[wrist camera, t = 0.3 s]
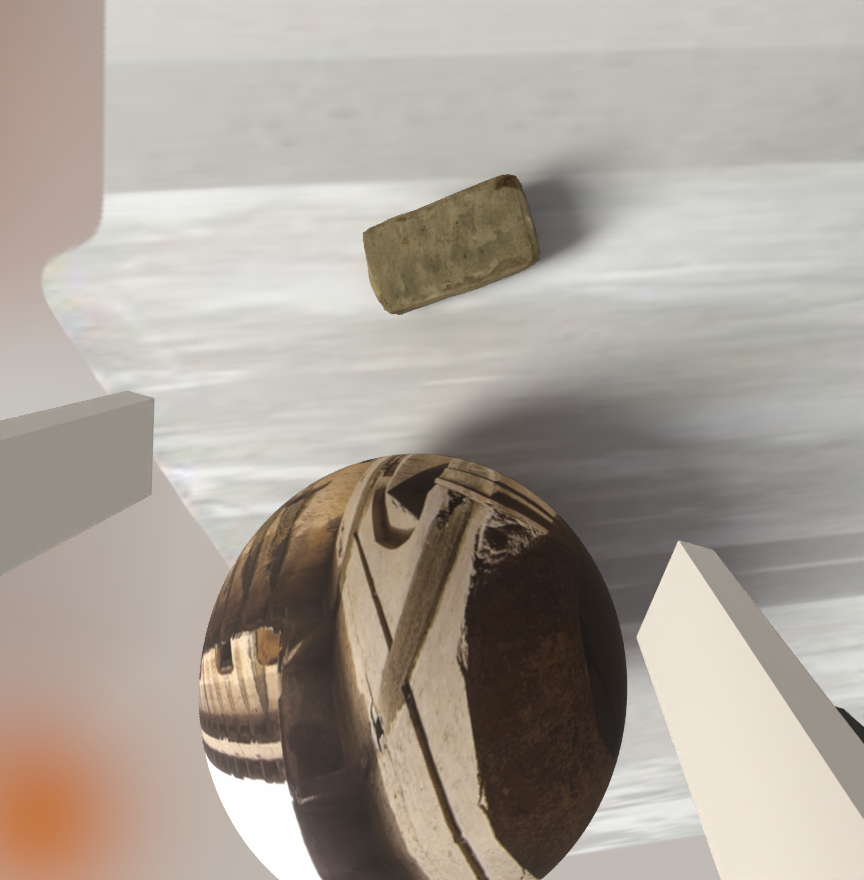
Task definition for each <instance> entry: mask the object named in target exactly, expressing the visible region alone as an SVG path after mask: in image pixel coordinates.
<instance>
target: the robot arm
mask: <svg viewBox="0 0 864 880" xmlns="http://www.w3.org/2000/svg"><path fill="white" fill-rule="evenodd" d="M153 426H154V398H152V397H148V396H144V395H141V394H137V393H133V392H130V391H125V392H120V393H116V394H112V395H108V396H103V397H99V398H95V399H91V400H87V401H82V402H78V403H74V404H69V405H65V406H61V407H57V408H53V409H48V410H45V411H40V412H36V413H31V414H27V415H23V416H19V417H14V418H10V419H6V420H2V421H0V576H1V575H3V574H4V573H6V572H8V571H10V570H12V569H14V568H15V567H17V566H19V565H21V564H23V563H25V562H27V561H29V560H31V559H32V558H34V557H36V556H38V555H40V554H42V553H44V552H46V551H47V550H49V549H51V548H53V547H55V546H57V545H58V544H60V543H62V542H64V541H66V540H68V539H70V538H72V537H74V536H75V535H77V534H79V533H81V532H83V531H85V530H86V529H88V528H90V527H92V526H94V525H96V524H98V523H100V522H101V521H103V520H105V519H107V518H109V517H111V516H113V515H115V514H116V513H118V512H120V511H122V510H124V509H126V508H128V507H130V506H132V505H133V504H135V503H137V502H139V501H141V500H143V499H145V498H146V497H148V496H150V495H151V490H152V489H151V488H152V458H153ZM637 640H638V643H639V646H640V649H641V652H642V655H643V658H644V660H645V663H646V666H647V669H648V672H649V675H650V678H651V681H652V683H653V686H654V689H655V692H656V695H657V698H658V701H659V703H660V706H661V709H662V712H663V715H664V718H665V721H666V724H667V726H668V729H669V732H670V735H671V738H672V741H673V744H674V747H675V749H676V752H677V755H678V758H679V761H680V764H681V767H682V769H683V772H684V775H685V778H686V781H687V784H688V787H689V790H690V792H691V795H692V798H693V801H694V804H695V807H696V810H697V813H698V815H699V818H700V821H701V824H702V827H703V830H704V833H705V835H706V838H707V841H708V844H709V847H710V850H711V853H712V856H713V858H714V861H715V864H716V867H717V870H718V873H719V875H720V878H721V880H864V727H863V726H862V725H861V724H860V723H859V722H858V721H856V720H855V719H854V718H853V717H852V716H851V715H850V714H849V713H847V712H846V711H845V710H844V709H842V708H839V707H835V706H834V705H833V704H832V702H831V701H830V700H829V698H828V697H827V696H826V695H825V693H824V692H823V691H822V689H821V688H820V687H819V686H818V684H817V683H816V682H815V680H814V679H813V678H812V677H811V675H810V674H809V673H808V671H807V670H806V669H805V668H804V666H803V665H802V664H801V662H800V661H799V660H798V659H797V657H796V656H795V655H794V653H793V652H792V651H791V649H790V648H789V647H788V646H787V644H786V643H785V642H784V640H783V639H782V638H781V637H780V635H779V634H778V633H777V631H776V630H775V629H774V628H773V626H772V625H771V624H770V622H769V621H768V620H767V619H766V617H765V616H764V615H763V613H762V612H761V611H760V609H759V608H758V607H757V606H756V604H755V603H754V602H753V600H752V599H751V598H750V597H749V595H748V594H747V593H746V591H745V590H744V589H743V588H742V586H741V585H740V584H739V582H738V581H737V580H736V579H735V577H734V576H733V575H732V573H731V572H730V571H729V570H728V568H727V567H726V566H725V564H724V563H723V562H722V560H721V559H720V558H719V557H718V555H717V554H716V553H715V551H714V550H713V549H709V548H706V547H702V546H698V545H694V544H691V543H687V542H683V541H680V540H678V542H677V545H676V547H675V549H674V552H673V554H672V556H671V559H670V561H669V563H668V565H667V568H666V570H665V572H664V575H663V577H662V579H661V582H660V584H659V586H658V588H657V591H656V593H655V595H654V598H653V600H652V602H651V605H650V607H649V609H648V612H647V614H646V616H645V618H644V621H643V623H642V625H641V628H640V630H639V632H638V635H637Z"/></svg>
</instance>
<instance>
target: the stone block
mask: <svg viewBox="0 0 864 880" xmlns="http://www.w3.org/2000/svg"><path fill="white" fill-rule="evenodd" d="M363 242H364V249H365V254H366V259H367V265H368V273H369V279H370V283H371V286H372V288H373V290H374V293H375V295H376V297H377V299H378V300H379V302H380V303H381V304H382V306H383V307H384V310H386V311H388V312H389V313H390V314H398V315H402V314H404V313H406V312H409V311H412V310H414V309H417V308H420V307H423V306H426V305H429V304H431V303H434V302H437V301H440V300H442V299H445V298H448V297H451V296H455V295H458V294H462V293H465V292H468V291H472V290H475V289H478V288H481V287H483V286H486V285H488V284H490V283H492V282H495V281H498V280H500V279H503V278H505V277H508V276H511V275H513V274H516V273H519V272H521V271H523V270H525V269H527V268H528V267H530V266H532V265H533V264H534V263H535V262H537V261H538V260H539V257H540V251H539V247H538V240H537V234H536V230H535V227H534V224H533V222H532V218H531V215H530V211H529V208H528V204H527V201H526V196H525V194H524V191H523V189H522V185H521V183H520V182H519V180H518V179H517V177H516V176H514V175H509V174H507V175H501V176H498V177H495V178H492V179H490V180H487V181H484V182H482V183H479V184H477V185H475V186H472V187H470V188H467V189H465V190H462V191H460V192H457V193H455V194H453V195H450V196H448V197H445V198H443V199H441V200H438V201H436V202H434V203H431V204H429V205H426V206H424V207H421V208H419V209H417V210H414V211H411V212H408V213H405V214H402V215H398V216H396V217H393V218H391V219H388V220H387V221H385V222H383V223H381V224H378V225H376V226H373V227H371V228H369V229H368V230H367V231H365V232H363Z"/></svg>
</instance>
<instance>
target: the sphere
mask: <svg viewBox="0 0 864 880" xmlns="http://www.w3.org/2000/svg"><path fill="white" fill-rule="evenodd" d="M626 706H627V669H626V658H625V651H624V644H623V639H622V634H621V629H620V625H619V621H618V617H617V614H616V611H615V608H614V605H613V602H612V599H611V596H610V594H609V591H608V589H607V586H606V584H605V582H604V580H603V578H602V575H601V573H600V571H599V570H598V568H597V566H596V564H595V562H594V561H593V559H592V557H591V556H590V554H589V552H588V551H587V549H586V548H585V546H584V545H583V543H582V542H581V541H580V539H579V538H578V537H577V535H576V534H575V533H574V531H573V530H572V529H571V528H570V527H569V525H568V524H567V523H566V522H565V521H564V520H563V519H562V518H561V517H560V516H559V515H558V514H557V513H556V512H555V511H554V510H553V509H552V508H551V507H550V506H549V505H548V504H546V503H545V502H544V501H543V500H542V499H541V498H539V497H538V496H537V495H535V494H534V493H533V492H531V491H530V490H528V489H527V488H526V487H524V486H522V485H521V484H519V483H518V482H516V481H514V480H513V479H511V478H509V477H507V476H505V475H503V474H501V473H499V472H497V471H495V470H492V469H490V468H487V467H485V466H482V465H479V464H476V463H473V462H470V461H466V460H462V459H458V458H453V457H447V456H440V455H430V454H403V455H392V456H385V457H380V458H375V459H371V460H367V461H363V462H359V463H356V464H353V465H350V466H348V467H345V468H343V469H340V470H338V471H335V472H333V473H331V474H329V475H327V476H325V477H323V478H321V479H319V480H318V481H316V482H314V483H313V484H311V485H309V486H308V487H306V488H305V489H303V490H302V491H300V492H299V493H298V494H296V495H295V496H294V497H292V498H291V499H290V500H288V501H287V502H286V503H285V504H284V505H282V506H281V507H280V508H279V509H278V510H277V511H276V512H275V513H274V514H273V515H272V516H271V517H270V518H269V519H268V520H267V521H266V522H265V523H264V524H263V525H262V526H261V527H260V529H259V530H258V531H257V532H256V533H255V535H254V536H253V537H252V538H251V540H250V541H249V542H248V544H247V545H246V546H245V548H244V549H243V551H242V552H241V554H240V555H239V557H238V558H237V560H236V562H235V563H234V565H233V567H232V569H231V570H230V572H229V574H228V576H227V578H226V580H225V582H224V584H223V586H222V589H221V591H220V593H219V595H218V598H217V601H216V603H215V606H214V609H213V612H212V615H211V618H210V621H209V625H208V628H207V633H206V637H205V642H204V646H203V651H202V658H201V666H200V677H199V714H200V724H201V733H202V739H203V744H204V749H205V754H206V758H207V762H208V766H209V769H210V772H211V776H212V778H213V781H214V784H215V787H216V790H217V792H218V794H219V797H220V799H221V801H222V803H223V805H224V807H225V809H226V811H227V813H228V815H229V817H230V819H231V821H232V822H233V824H234V826H235V827H236V829H237V831H238V832H239V834H240V835H241V837H242V838H243V840H244V841H245V842H246V844H247V845H248V846H249V848H250V849H251V850H252V852H253V853H254V854H255V855H256V856H257V857H258V859H259V860H260V861H261V862H262V863H263V864H264V865H265V866H266V867H267V868H268V869H269V870H270V871H271V872H272V873H273V874H274V875H275V876H276V877H277V878H278V879H279V880H541V879H542V878H544V877H545V876H546V875H547V874H548V873H549V872H550V871H551V870H552V869H553V868H554V867H555V866H556V865H557V864H558V863H559V862H560V861H561V860H562V859H563V858H564V857H565V856H566V854H567V853H568V852H569V851H570V850H571V848H572V847H573V846H574V845H575V843H576V842H577V841H578V839H579V838H580V837H581V835H582V834H583V832H584V831H585V829H586V828H587V826H588V825H589V823H590V821H591V820H592V818H593V816H594V814H595V813H596V811H597V809H598V807H599V805H600V803H601V801H602V799H603V797H604V794H605V792H606V790H607V788H608V785H609V782H610V780H611V777H612V774H613V771H614V768H615V765H616V762H617V758H618V755H619V751H620V747H621V742H622V737H623V732H624V725H625V717H626Z"/></svg>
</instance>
